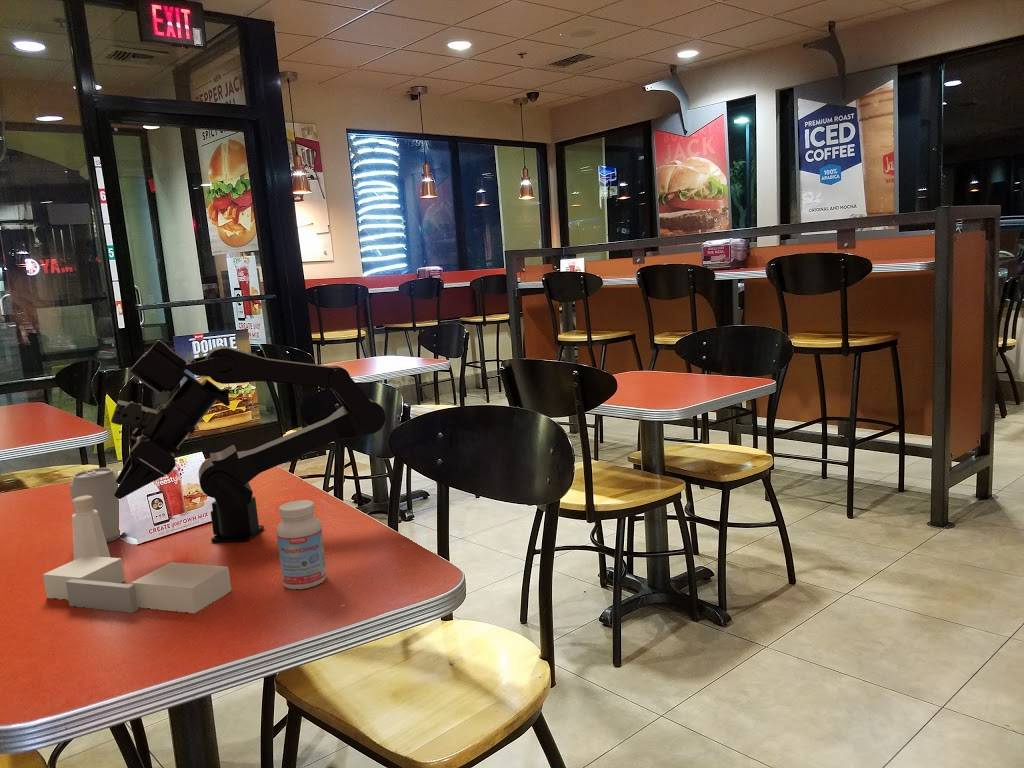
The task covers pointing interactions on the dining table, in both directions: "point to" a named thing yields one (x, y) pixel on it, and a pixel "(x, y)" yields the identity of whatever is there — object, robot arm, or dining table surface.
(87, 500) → the pepper shaker
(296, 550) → the pill bottle
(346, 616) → the dining table surface
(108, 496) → the can
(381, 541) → the dining table surface
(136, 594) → the grey block set
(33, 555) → the dining table surface
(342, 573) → the dining table surface
